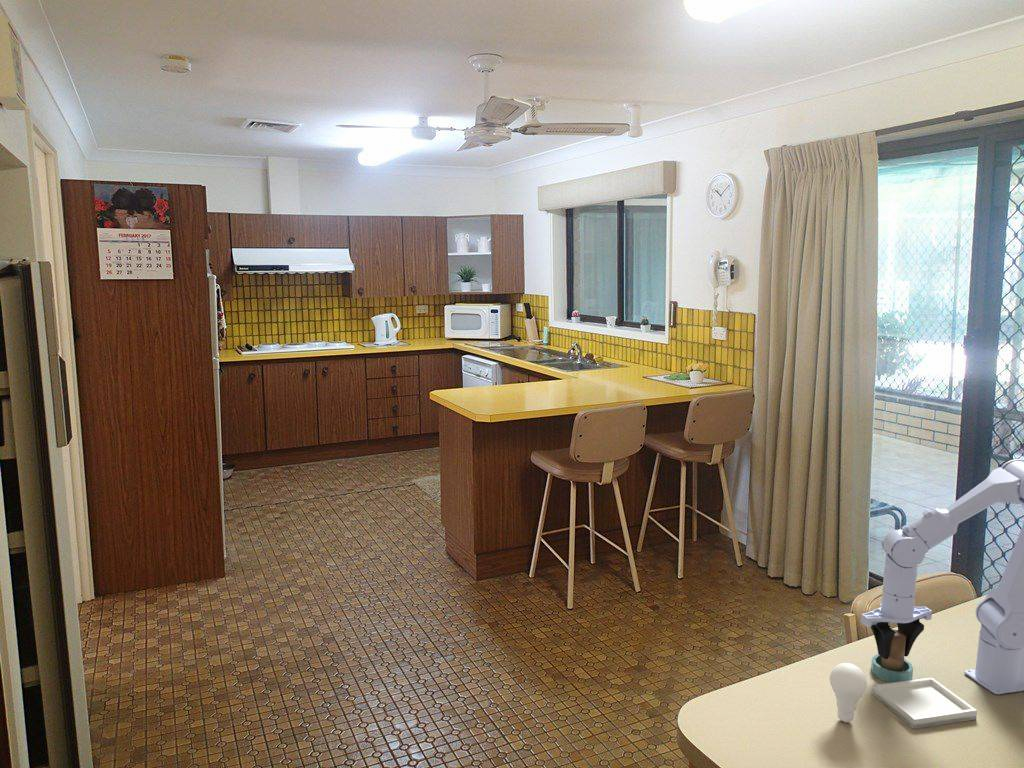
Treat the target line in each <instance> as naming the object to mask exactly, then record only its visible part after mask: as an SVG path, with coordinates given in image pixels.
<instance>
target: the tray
mask: <svg viewBox="0 0 1024 768" xmlns="http://www.w3.org/2000/svg"><path fill="white" fill-rule="evenodd" d="M871 694H872V695H873V696H874V697H875V698H877V700H878V701H880V702H881V703H882V704H883V705H885V706H886V707H887V708H888V709H889V710H891V711H892V713H894V714H895V715H897V716H898V717H899V718H900V719H901V720H902V721H904V723H906V724H907V725H909V726H910V728H912V729H914V730H915V729H922V728H928V727H935V726H943V725H949V724H955V723H961V722H967V721H974V720H977V716H978V715H977V714H978V713H977V712H978V710H977V709H976V708H975V707H973V706H972V705H971V704H969V703H968V702H967V701H965V700H964V699H962V697H959V696H958V695H956V694H955V693H954V692H953V691H951V690H950V689H948V687H946V686H944V685H943V684H942V683H940V682H939V681H938V680H936V679H935V678H933V677H926V678H925V677H923V678H919V679H912V680H909V681H902V682H894V683H891V682H887V683H880V684H873V685H872V692H871Z"/></svg>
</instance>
